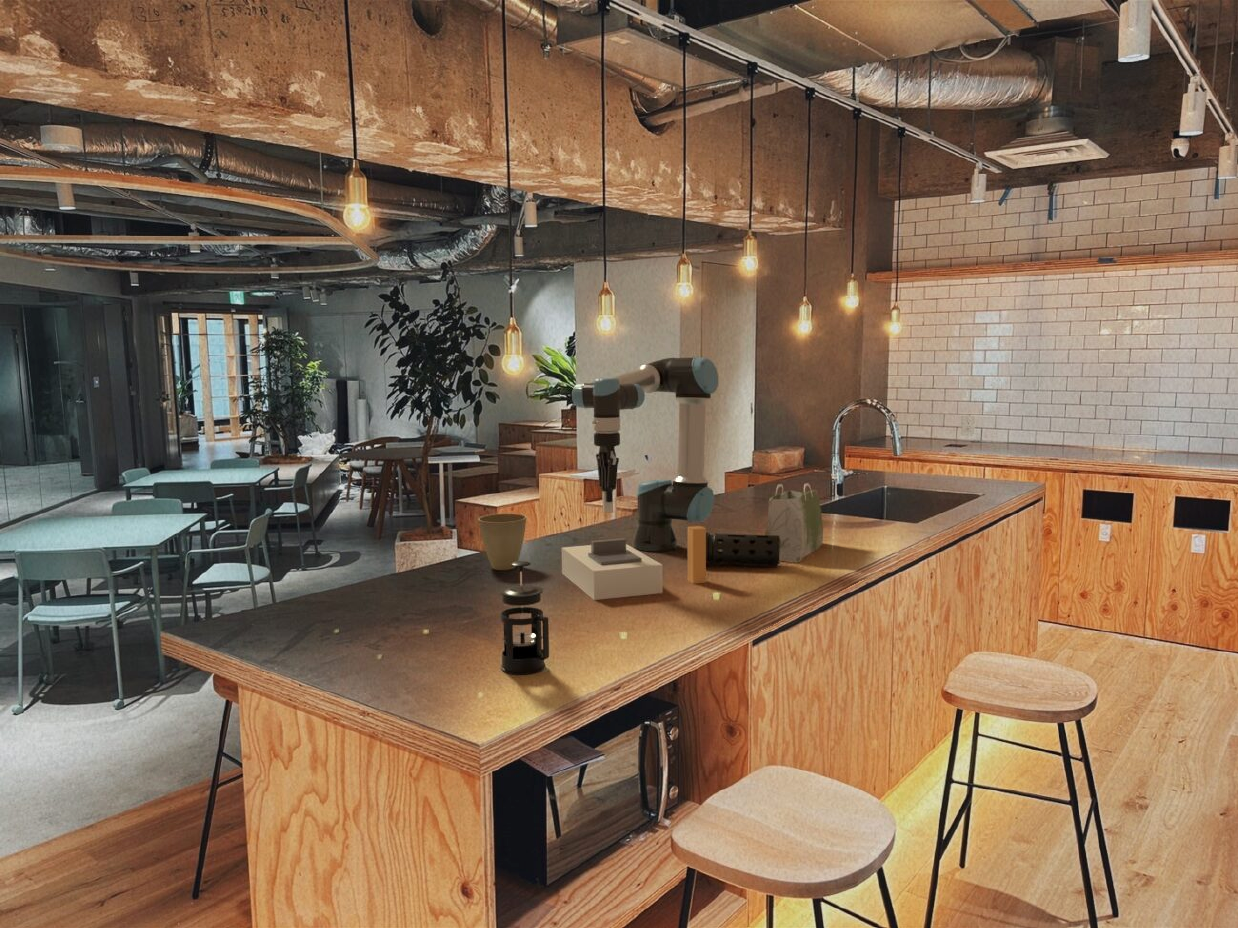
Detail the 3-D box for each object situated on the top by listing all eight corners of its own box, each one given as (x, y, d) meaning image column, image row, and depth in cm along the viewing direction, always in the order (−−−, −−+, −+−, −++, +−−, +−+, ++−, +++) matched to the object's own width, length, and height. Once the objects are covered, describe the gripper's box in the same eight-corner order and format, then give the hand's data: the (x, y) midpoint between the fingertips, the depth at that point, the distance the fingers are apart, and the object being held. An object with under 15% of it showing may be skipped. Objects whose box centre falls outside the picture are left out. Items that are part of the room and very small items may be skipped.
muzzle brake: (778, 571, 275) (778, 537, 274) (687, 567, 281) (687, 535, 279) (779, 564, 284) (779, 531, 283) (691, 560, 290) (691, 529, 289)
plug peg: (687, 580, 264) (687, 526, 262) (700, 579, 266) (700, 525, 264) (693, 583, 261) (693, 529, 259) (705, 582, 262) (705, 528, 260)
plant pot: (489, 561, 291) (487, 512, 289) (533, 562, 288) (532, 513, 286) (472, 572, 277) (471, 521, 275) (518, 574, 274) (517, 522, 272)
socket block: (561, 573, 274) (561, 547, 273) (623, 567, 281) (623, 542, 280) (594, 599, 244) (593, 571, 244) (662, 592, 251) (662, 564, 250)
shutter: (588, 555, 261) (587, 541, 261) (627, 552, 265) (626, 537, 265) (601, 564, 250) (600, 549, 250) (641, 560, 254) (641, 546, 254)
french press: (489, 669, 192) (486, 563, 189) (517, 656, 200) (514, 554, 197) (533, 679, 185) (530, 570, 183) (560, 665, 193) (558, 561, 190)
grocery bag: (785, 540, 319) (786, 475, 316) (824, 543, 313) (825, 477, 310) (758, 559, 291) (759, 488, 288) (800, 563, 285) (802, 490, 282)
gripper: (587, 430, 264) (588, 509, 267) (602, 434, 252) (603, 517, 255) (611, 429, 267) (612, 508, 270) (627, 433, 255) (628, 515, 258)
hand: (607, 512), depth 263 cm, fingers closed
